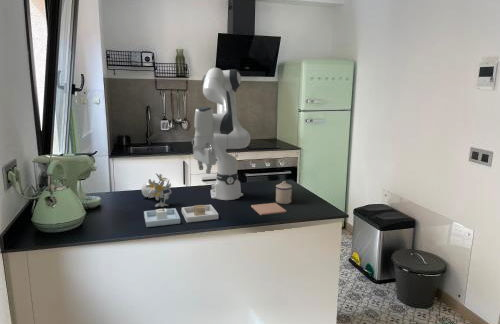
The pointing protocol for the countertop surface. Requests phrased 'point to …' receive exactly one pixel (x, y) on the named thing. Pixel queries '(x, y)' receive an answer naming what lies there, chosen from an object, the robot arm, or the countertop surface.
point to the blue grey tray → (171, 219)
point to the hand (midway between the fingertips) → (204, 171)
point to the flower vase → (156, 190)
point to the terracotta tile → (268, 208)
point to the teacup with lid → (283, 193)
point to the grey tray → (190, 217)
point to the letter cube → (161, 214)
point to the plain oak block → (199, 210)
